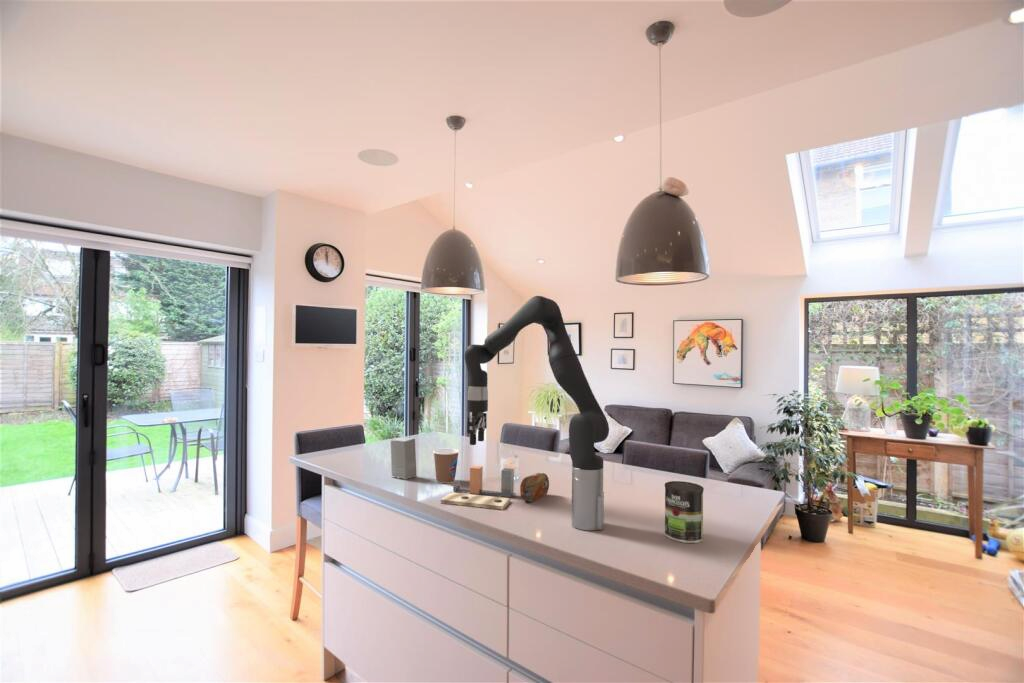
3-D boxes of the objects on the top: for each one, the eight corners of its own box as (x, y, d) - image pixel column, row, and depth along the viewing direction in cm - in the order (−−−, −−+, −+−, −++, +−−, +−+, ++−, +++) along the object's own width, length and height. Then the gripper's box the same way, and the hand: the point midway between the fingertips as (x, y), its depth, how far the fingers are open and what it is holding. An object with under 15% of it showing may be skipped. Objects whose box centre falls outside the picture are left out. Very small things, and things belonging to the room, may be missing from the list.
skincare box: (416, 477, 190) (417, 438, 191) (404, 480, 184) (405, 440, 185) (401, 474, 195) (402, 436, 196) (389, 477, 189) (390, 438, 190)
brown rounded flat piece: (525, 504, 156) (526, 479, 157) (518, 503, 158) (518, 478, 158) (549, 495, 168) (550, 471, 168) (542, 493, 170) (542, 470, 170)
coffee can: (693, 546, 122) (693, 493, 123) (657, 535, 130) (657, 485, 130) (709, 536, 130) (709, 486, 130) (674, 527, 137) (675, 479, 138)
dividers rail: (516, 495, 167) (517, 469, 167) (514, 498, 163) (514, 471, 164) (457, 489, 173) (457, 464, 174) (453, 491, 170) (453, 466, 170)
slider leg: (482, 491, 170) (482, 466, 171) (478, 494, 167) (479, 468, 167) (473, 490, 171) (473, 465, 172) (469, 493, 168) (470, 467, 168)
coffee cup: (454, 485, 179) (455, 454, 179) (428, 484, 180) (429, 453, 181) (461, 478, 189) (462, 449, 189) (437, 477, 190) (437, 448, 191)
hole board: (510, 501, 159) (510, 497, 159) (502, 509, 150) (502, 505, 150) (451, 495, 165) (451, 492, 165) (440, 503, 156) (440, 499, 156)
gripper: (480, 400, 163) (480, 446, 162) (493, 397, 176) (492, 440, 176) (460, 399, 165) (460, 445, 164) (474, 397, 179) (474, 439, 178)
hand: (477, 442), depth 170 cm, fingers open, 8 cm apart
